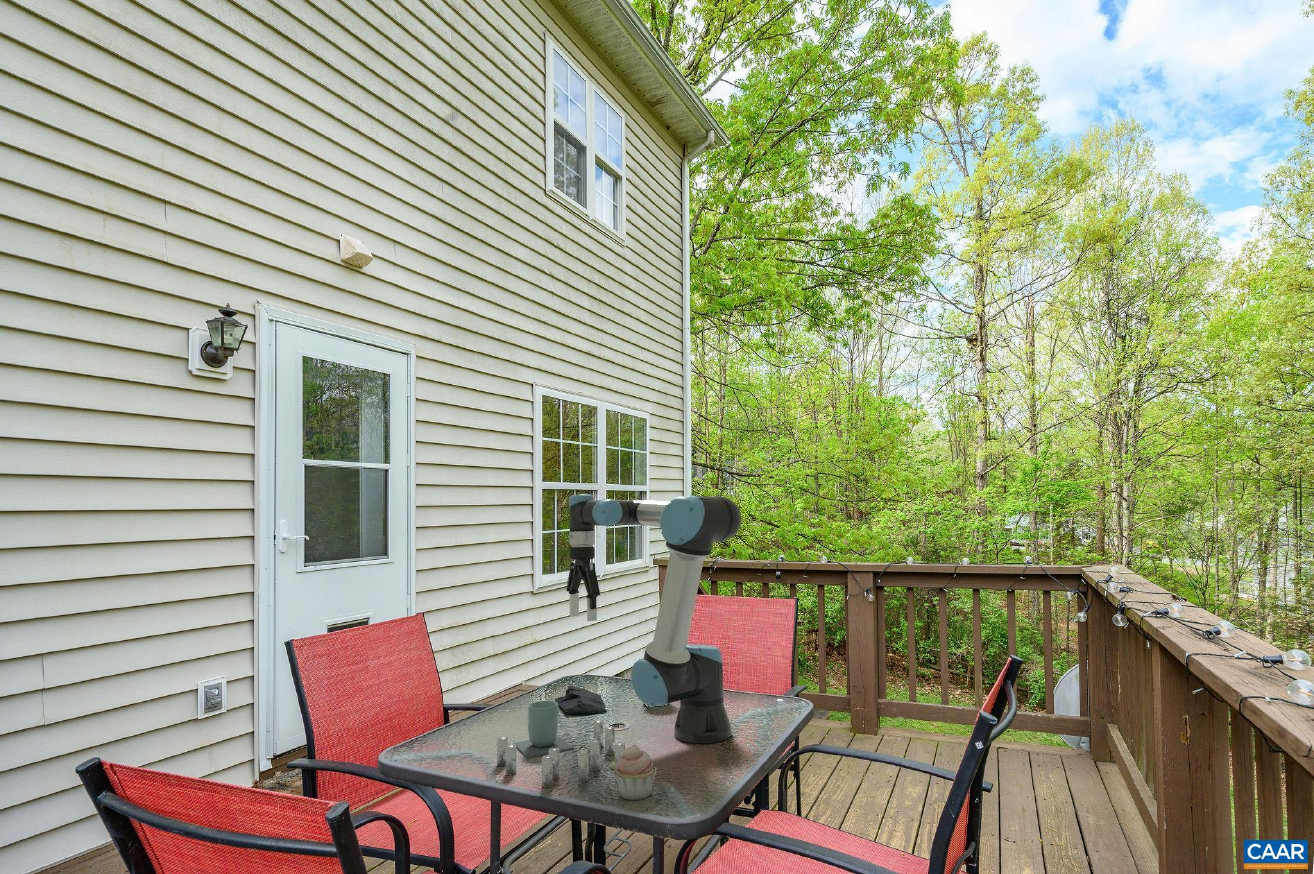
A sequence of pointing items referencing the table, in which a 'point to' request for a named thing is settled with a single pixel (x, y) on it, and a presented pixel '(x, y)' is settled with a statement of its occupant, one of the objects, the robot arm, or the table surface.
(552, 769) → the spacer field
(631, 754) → the cupcake
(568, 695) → the dark slate chunk
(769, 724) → the table surface
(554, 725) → the cup
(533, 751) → the slate coaster
